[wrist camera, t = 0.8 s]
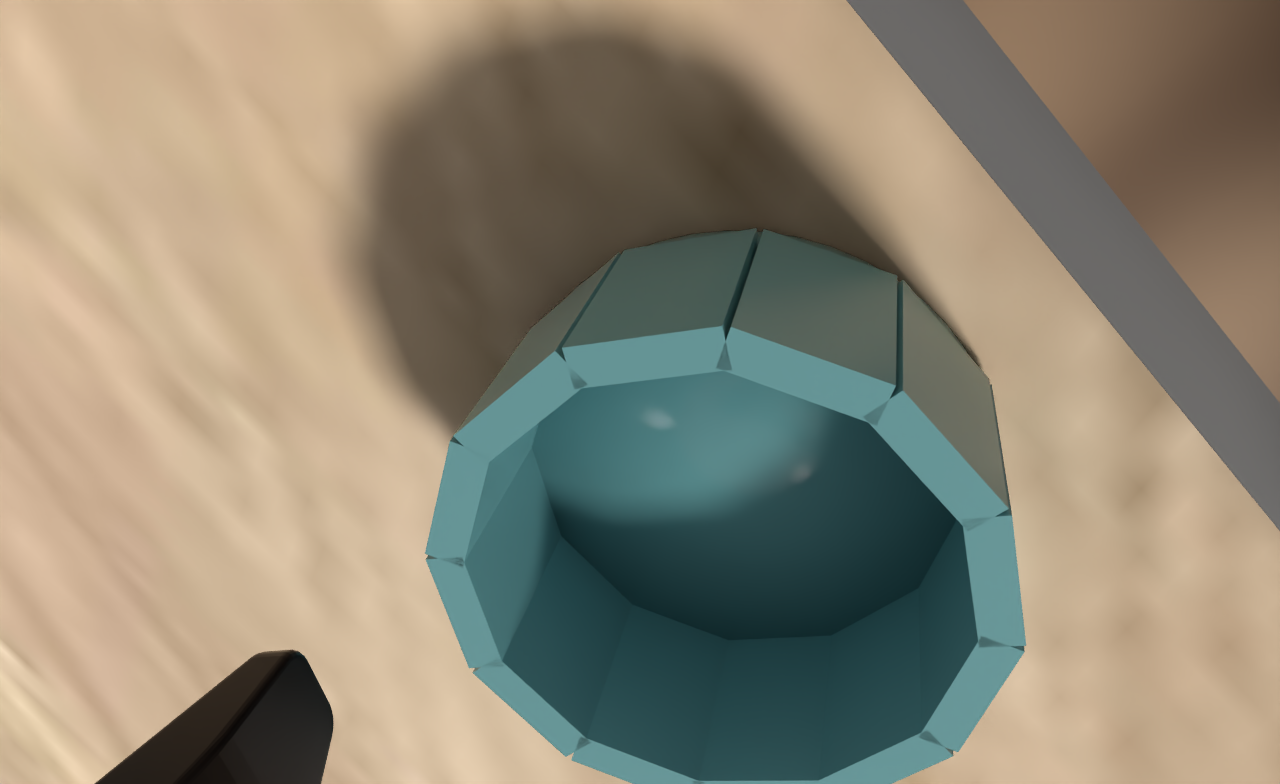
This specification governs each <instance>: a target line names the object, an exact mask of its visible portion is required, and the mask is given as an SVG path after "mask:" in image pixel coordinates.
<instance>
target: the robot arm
mask: <svg viewBox="0 0 1280 784" xmlns="http://www.w3.org/2000/svg"><path fill="white" fill-rule="evenodd" d="M332 733H333V714H332V710H331V706H330V704H329V702H328V700H327V698H326V696H325V694H324V692H323V690H322V688H321V686H320V684H319V682H318V680H317V678H316V677H315V675H314V673H313V671H312V669H311V667H310V665H309V663H308V661H307V659H306V658H305V656H304V655H302V654H301V653H300V652H298V651H295V650H282V651H268V652H262V653H258V654H256V655H254V656H253V657H251V658H250V659H249V660H248V661H246V662H245V663H244V664H243V665H241V666H240V667H239V668H238V669H236V670H235V671H234V672H233V673H231V674H230V675H229V676H228V677H226V678H225V679H224V680H223V681H221V682H220V683H219V684H218V685H217V686H215V687H214V688H213V689H212V690H210V691H209V692H208V693H207V694H205V695H204V696H203V697H202V698H200V699H199V700H198V701H197V702H195V703H194V704H193V705H192V706H190V707H189V708H188V709H187V710H185V711H184V712H183V713H182V714H181V715H179V716H178V717H177V718H176V719H174V720H173V721H172V722H171V723H169V724H168V725H167V726H166V727H164V728H163V729H162V730H161V731H159V732H158V733H157V734H156V735H154V736H153V737H152V738H151V739H149V740H148V741H147V742H146V743H144V744H143V745H142V746H141V747H140V748H138V749H137V750H136V751H135V752H133V753H132V754H131V755H130V756H128V757H127V758H126V759H125V760H123V761H122V762H121V763H120V764H118V765H117V766H116V767H115V768H113V769H112V770H111V771H110V772H108V773H107V774H106V775H105V776H104V777H102V778H101V779H100V780H99V781H97V782H96V783H95V784H321V781H322V777H323V773H324V768H325V764H326V760H327V755H328V751H329V747H330V742H331V738H332Z"/></svg>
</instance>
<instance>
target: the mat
mask: <svg viewBox="0 0 1280 784" xmlns="http://www.w3.org/2000/svg"><path fill="white" fill-rule="evenodd" d="M847 1H848V3H849V4H850V5H851V6H852V8H853V9H854V10H855V11H856V13H857V14H858V15H859V16H860V17H861V19H862V20H863V21H864V22H865V24H866V25H867V26H868V27H869V28H870V30H871V31H872V32H873V33H874V35H875V36H876V37H877V38H878V39H879V41H880V42H881V43H882V44H883V46H884V47H885V48H886V49H887V50H888V52H889V53H890V54H891V55H892V57H893V58H894V59H895V60H896V61H897V63H898V64H899V65H900V66H901V68H902V69H903V70H904V71H905V73H906V74H907V75H908V76H909V77H910V79H911V80H912V81H913V82H914V84H915V85H916V86H917V87H918V88H919V90H920V91H921V92H922V93H923V95H924V96H925V97H926V98H927V99H928V101H929V102H930V103H931V104H932V106H933V107H934V108H935V109H936V110H937V112H938V113H939V114H940V115H941V117H942V118H943V119H944V120H945V121H946V123H947V124H948V125H949V126H950V128H951V129H952V130H953V131H954V132H955V134H956V135H957V136H958V137H959V139H960V140H961V141H962V142H963V144H964V145H965V146H966V147H967V148H968V150H969V151H970V152H971V153H972V155H973V156H974V157H975V158H976V159H977V161H978V162H979V163H980V164H981V166H982V167H983V168H984V169H985V170H986V172H987V173H988V174H989V175H990V177H991V178H992V179H993V180H994V181H995V183H996V184H997V185H998V186H999V188H1000V189H1001V190H1002V191H1003V192H1004V194H1005V195H1006V196H1007V197H1008V199H1009V200H1010V201H1011V202H1012V204H1013V205H1014V206H1015V207H1016V208H1017V210H1018V211H1019V212H1020V213H1021V215H1022V216H1023V217H1024V218H1025V219H1026V221H1027V222H1028V223H1029V224H1030V226H1031V227H1032V228H1033V229H1034V230H1035V232H1036V233H1037V234H1038V235H1039V237H1040V238H1041V239H1042V240H1043V241H1044V243H1045V244H1046V245H1047V246H1048V248H1049V249H1050V250H1051V251H1052V252H1053V254H1054V255H1055V256H1056V257H1057V259H1058V260H1059V261H1060V262H1061V264H1062V265H1063V266H1064V267H1065V268H1066V270H1067V271H1068V272H1069V273H1070V275H1071V276H1072V277H1073V278H1074V279H1075V281H1076V282H1077V283H1078V284H1079V286H1080V287H1081V288H1082V289H1083V290H1084V292H1085V293H1086V294H1087V295H1088V297H1089V298H1090V299H1091V300H1092V301H1093V303H1094V304H1095V305H1096V306H1097V308H1098V309H1099V310H1100V311H1101V312H1102V314H1103V315H1104V316H1105V317H1106V319H1107V320H1108V321H1109V322H1110V324H1111V325H1112V326H1113V327H1114V328H1115V330H1116V331H1117V332H1118V333H1119V335H1120V336H1121V337H1122V338H1123V339H1124V341H1125V342H1126V343H1127V344H1128V346H1129V347H1130V348H1131V349H1132V350H1133V352H1134V353H1135V354H1136V355H1137V357H1138V358H1139V359H1140V360H1141V361H1142V363H1143V364H1144V365H1145V366H1146V368H1147V369H1148V370H1149V371H1150V372H1151V374H1152V375H1153V376H1154V377H1155V379H1156V380H1157V381H1158V382H1159V383H1160V385H1161V386H1162V387H1163V388H1164V390H1165V391H1166V392H1167V393H1168V395H1169V396H1170V397H1171V398H1172V399H1173V401H1174V402H1175V403H1176V404H1177V406H1178V407H1179V408H1180V409H1181V410H1182V412H1183V413H1184V414H1185V415H1186V417H1187V418H1188V419H1189V420H1190V421H1191V423H1192V424H1193V425H1194V426H1195V428H1196V429H1197V430H1198V431H1199V432H1200V434H1201V435H1202V436H1203V437H1204V439H1205V440H1206V441H1207V442H1208V443H1209V445H1210V446H1211V447H1212V448H1213V450H1214V451H1215V452H1216V453H1217V455H1218V456H1219V457H1220V458H1221V459H1222V461H1223V462H1224V463H1225V464H1226V466H1227V467H1228V468H1229V469H1230V470H1231V472H1232V473H1233V474H1234V475H1235V477H1236V478H1237V479H1238V480H1239V481H1240V483H1241V484H1242V485H1243V486H1244V488H1245V489H1246V490H1247V491H1248V492H1249V494H1250V495H1251V496H1252V497H1253V499H1254V500H1255V501H1256V502H1257V503H1258V505H1259V506H1260V507H1261V508H1262V510H1263V511H1264V512H1265V513H1266V515H1267V516H1268V517H1269V518H1270V519H1271V521H1272V522H1273V523H1274V524H1275V526H1276V527H1277V528H1278V529H1279V530H1280V403H1279V401H1278V400H1277V399H1276V398H1275V396H1274V395H1273V394H1272V392H1271V391H1270V390H1269V389H1268V387H1267V386H1266V385H1265V384H1264V382H1263V381H1262V380H1261V378H1260V377H1259V376H1258V375H1257V373H1256V372H1255V371H1254V370H1253V368H1252V367H1251V366H1250V364H1249V363H1248V362H1247V361H1246V359H1245V358H1244V357H1243V356H1242V354H1241V353H1240V352H1239V350H1238V349H1237V348H1236V347H1235V345H1234V344H1233V343H1232V342H1231V340H1230V339H1229V338H1228V336H1227V335H1226V334H1225V333H1224V331H1223V330H1222V329H1221V328H1220V326H1219V325H1218V324H1217V322H1216V321H1215V320H1214V319H1213V317H1212V316H1211V315H1210V314H1209V312H1208V311H1207V310H1206V309H1205V307H1204V306H1203V305H1202V303H1201V302H1200V301H1199V300H1198V298H1197V297H1196V296H1195V295H1194V293H1193V292H1192V291H1191V289H1190V288H1189V287H1188V286H1187V284H1186V283H1185V282H1184V281H1183V279H1182V278H1181V277H1180V275H1179V274H1178V273H1177V272H1176V270H1175V269H1174V268H1173V267H1172V265H1171V264H1170V263H1169V261H1168V260H1167V259H1166V258H1165V256H1164V255H1163V254H1162V253H1161V251H1160V250H1159V249H1158V247H1157V246H1156V245H1155V244H1154V242H1153V241H1152V240H1151V239H1150V237H1149V236H1148V235H1147V233H1146V232H1145V231H1144V230H1143V228H1142V227H1141V226H1140V225H1139V223H1138V222H1137V221H1136V219H1135V218H1134V217H1133V216H1132V214H1131V213H1130V212H1129V211H1128V209H1127V208H1126V207H1125V205H1124V204H1123V203H1122V202H1121V200H1120V199H1119V198H1118V197H1117V195H1116V194H1115V193H1114V191H1113V190H1112V189H1111V188H1110V186H1109V185H1108V184H1107V183H1106V181H1105V180H1104V179H1103V178H1102V176H1101V175H1100V174H1099V172H1098V171H1097V170H1096V169H1095V167H1094V166H1093V165H1092V164H1091V162H1090V161H1089V160H1088V158H1087V157H1086V156H1085V155H1084V153H1083V152H1082V151H1081V150H1080V148H1079V147H1078V146H1077V144H1076V143H1075V142H1074V141H1073V139H1072V138H1071V137H1070V136H1069V134H1068V133H1067V132H1066V130H1065V129H1064V128H1063V127H1062V125H1061V124H1060V123H1059V122H1058V120H1057V119H1056V118H1055V116H1054V115H1053V114H1052V113H1051V111H1050V110H1049V109H1048V108H1047V106H1046V105H1045V104H1044V102H1043V101H1042V100H1041V99H1040V97H1039V96H1038V95H1037V94H1036V92H1035V91H1034V90H1033V88H1032V87H1031V86H1030V85H1029V83H1028V82H1027V81H1026V80H1025V78H1024V77H1023V76H1022V74H1021V73H1020V72H1019V71H1018V69H1017V68H1016V67H1015V66H1014V64H1013V63H1012V62H1011V60H1010V59H1009V58H1008V57H1007V55H1006V54H1005V53H1004V52H1003V50H1002V49H1001V48H1000V47H999V45H998V44H997V43H996V41H995V40H994V39H993V38H992V36H991V35H990V34H989V33H988V31H987V30H986V29H985V27H984V26H983V25H982V24H981V22H980V21H979V20H978V19H977V17H976V16H975V15H974V13H973V12H972V11H971V10H970V8H969V7H968V6H967V5H966V3H965V2H964V1H963V0H847Z"/></svg>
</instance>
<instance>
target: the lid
mask: <svg viewBox="0 0 1280 784" xmlns="http://www.w3.org/2000/svg"><path fill="white" fill-rule="evenodd" d="M963 1H964V2H965V3H966V5H967V6H968V7H969V8H970V10H971V11H972V12H973V13H974V15H975V16H976V17H977V19H978V20H979V21H980V22H981V24H982V25H983V26H984V27H985V29H986V30H987V31H988V33H989V34H990V35H991V36H992V38H993V39H994V40H995V41H996V43H997V44H998V45H999V47H1000V48H1001V49H1002V50H1003V52H1004V53H1005V54H1006V55H1007V57H1008V58H1009V59H1010V60H1011V62H1012V63H1013V64H1014V66H1015V67H1016V68H1017V69H1018V71H1019V72H1020V73H1021V74H1022V76H1023V77H1024V78H1025V80H1026V81H1027V82H1028V83H1029V85H1030V86H1031V87H1032V88H1033V90H1034V91H1035V92H1036V94H1037V95H1038V96H1039V97H1040V99H1041V100H1042V101H1043V102H1044V104H1045V105H1046V106H1047V108H1048V109H1049V110H1050V111H1051V113H1052V114H1053V115H1054V116H1055V118H1056V119H1057V120H1058V122H1059V123H1060V124H1061V125H1062V127H1063V128H1064V129H1065V130H1066V132H1067V133H1068V134H1069V136H1070V137H1071V138H1072V139H1073V141H1074V142H1075V143H1076V144H1077V146H1078V147H1079V148H1080V150H1081V151H1082V152H1083V153H1084V155H1085V156H1086V157H1087V158H1088V160H1089V161H1090V162H1091V164H1092V165H1093V166H1094V167H1095V169H1096V170H1097V171H1098V172H1099V174H1100V175H1101V176H1102V178H1103V179H1104V180H1105V181H1106V183H1107V184H1108V185H1109V186H1110V188H1111V189H1112V190H1113V191H1114V193H1115V194H1116V195H1117V197H1118V198H1119V199H1120V200H1121V202H1122V203H1123V204H1124V205H1125V207H1126V208H1127V209H1128V211H1129V212H1130V213H1131V214H1132V216H1133V217H1134V218H1135V219H1136V221H1137V222H1138V223H1139V225H1140V226H1141V227H1142V228H1143V230H1144V231H1145V232H1146V233H1147V235H1148V236H1149V237H1150V239H1151V240H1152V241H1153V242H1154V244H1155V245H1156V246H1157V247H1158V249H1159V250H1160V251H1161V253H1162V254H1163V255H1164V256H1165V258H1166V259H1167V260H1168V261H1169V263H1170V264H1171V265H1172V267H1173V268H1174V269H1175V270H1176V272H1177V273H1178V274H1179V275H1180V277H1181V278H1182V279H1183V281H1184V282H1185V283H1186V284H1187V286H1188V287H1189V288H1190V289H1191V291H1192V292H1193V293H1194V295H1195V296H1196V297H1197V298H1198V300H1199V301H1200V302H1201V303H1202V305H1203V306H1204V307H1205V309H1206V310H1207V311H1208V312H1209V314H1210V315H1211V316H1212V317H1213V319H1214V320H1215V321H1216V322H1217V324H1218V325H1219V326H1220V328H1221V329H1222V330H1223V331H1224V333H1225V334H1226V335H1227V336H1228V338H1229V339H1230V340H1231V342H1232V343H1233V344H1234V345H1235V347H1236V348H1237V349H1238V350H1239V352H1240V353H1241V354H1242V356H1243V357H1244V358H1245V359H1246V361H1247V362H1248V363H1249V364H1250V366H1251V367H1252V368H1253V370H1254V371H1255V372H1256V373H1257V375H1258V376H1259V377H1260V378H1261V380H1262V381H1263V382H1264V384H1265V385H1266V386H1267V387H1268V389H1269V390H1270V391H1271V392H1272V394H1273V395H1274V396H1275V398H1276V399H1277V400H1278V401H1279V403H1280V0H963Z"/></svg>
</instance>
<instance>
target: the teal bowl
mask: <svg viewBox="0 0 1280 784" xmlns="http://www.w3.org/2000/svg"><path fill="white" fill-rule="evenodd" d="M425 554H427V555H428V557H427V558H426V562H427V564H428V567H429V569H430V572H431V574H432V577H433V579H434V582H435V584H436V587H437V589H438V592H439V594H440V597H441V599H442V602H443V604H444V607H445V609H446V612H447V614H448V617H449V619H450V621H451V624H452V626H453V629H454V631H455V634H456V636H457V639H458V641H459V644H460V646H461V649H462V651H463V654H464V656H465V659H466V661H467V664H468V666H469V668H475V669H474V671H473V674H474V675H476V676H477V677H478V678H479V679H480V680H481V681H482V682H483V683H484V684H486V685H487V686H488V687H489V688H490V689H491V690H492V691H493V692H494V693H496V694H497V695H498V696H499V697H500V698H501V699H502V700H503V701H504V702H506V703H507V704H508V705H509V706H510V707H511V708H512V709H513V710H514V711H516V712H517V713H518V714H519V715H520V716H521V717H522V718H523V719H524V720H526V721H527V722H528V723H529V724H530V725H531V726H532V727H533V728H534V729H535V730H537V731H538V732H539V733H540V734H541V735H542V736H543V737H544V738H545V739H547V740H548V741H549V742H550V743H551V744H552V745H553V746H554V747H555V748H557V749H558V750H559V751H560V752H561V753H562V754H563V755H564V756H565V757H566V756H568V755H570V754H572V753H573V752H574V754H573V757H572V761H575V762H578V763H580V764H583V765H585V766H588V767H591V768H593V769H596V770H599V771H601V772H604V773H606V774H609V775H612V776H614V777H617V778H620V779H622V780H625V781H628V782H630V783H633V784H892V783H894V782H896V781H899V780H901V779H903V778H905V777H907V776H910V775H912V774H914V773H916V772H919V771H921V770H923V769H925V768H928V767H930V766H932V765H934V764H937V763H939V762H941V761H943V760H946V759H948V758H950V757H952V756H953V751H956V752H959V750H960V749H961V747H962V746H963V744H964V743H965V741H966V740H967V738H968V737H969V735H970V734H971V732H972V730H973V729H974V727H975V726H976V724H977V723H978V721H979V720H980V718H981V717H982V715H983V714H984V712H985V711H986V709H987V708H988V706H989V705H990V703H991V702H992V700H993V699H994V697H995V696H996V694H997V693H998V691H999V690H1000V688H1001V687H1002V685H1003V684H1004V682H1005V681H1006V679H1007V678H1008V676H1009V674H1010V673H1011V671H1012V670H1013V668H1014V667H1015V665H1016V664H1017V662H1018V661H1019V659H1020V658H1021V656H1022V655H1023V653H1024V646H1026V640H1025V631H1024V622H1023V613H1022V604H1021V594H1020V585H1019V576H1018V567H1017V557H1016V548H1015V539H1014V530H1013V521H1012V513H1011V506H1010V500H1009V493H1008V487H1007V480H1006V474H1005V468H1004V461H1003V455H1002V448H1001V442H1000V435H999V429H998V423H997V416H996V410H995V403H994V397H993V390H992V384H991V385H990V382H989V378H988V377H987V376H986V375H985V374H984V372H983V371H982V370H981V369H980V368H979V367H978V365H977V364H976V363H975V362H974V361H973V360H972V358H971V357H970V356H969V355H968V353H967V351H966V349H965V348H964V347H963V345H962V344H961V343H960V341H959V340H958V339H957V337H956V336H955V335H954V333H953V332H952V331H951V329H950V328H949V327H948V325H947V324H946V323H945V322H944V321H943V320H942V319H941V318H940V317H939V316H938V315H937V314H936V313H935V312H934V311H933V310H932V309H931V308H930V307H929V306H928V305H927V304H926V303H925V302H924V301H923V300H922V299H921V298H920V297H918V296H917V295H916V294H915V293H914V291H913V290H912V289H911V288H910V287H909V286H908V285H907V283H906V282H905V281H904V280H902V281H900V282H899V281H897V275H894V274H892V273H889V272H886V271H883V270H880V269H878V268H876V267H874V266H873V265H871V264H869V263H867V262H866V261H864V260H861V259H859V258H857V257H854V256H852V255H850V254H847V253H845V252H842V251H840V250H838V249H835V248H833V247H830V246H827V245H823V244H820V243H816V242H813V241H809V240H806V239H802V238H798V237H794V236H787V235H780V234H777V233H775V232H772V231H769V230H766V229H763V232H758V231H757V228H754V229H748V230H742V231H718V232H708V233H697V234H690V235H686V236H681V237H677V238H673V239H668V240H664V241H660V242H657V243H654V244H652V245H649V246H644V247H638V248H632V249H626V250H624V251H623V253H622V254H620V253H617V254H616V255H615V256H614V257H613V258H612V259H610V260H609V261H608V262H607V263H606V264H605V265H604V266H602V267H601V268H600V269H599V270H598V271H597V272H595V273H594V274H593V275H591V276H590V277H589V278H587V279H586V280H585V281H583V282H582V283H581V284H579V285H578V286H577V287H576V288H575V289H574V290H573V291H572V292H571V293H570V294H569V295H568V296H567V297H566V298H565V299H564V300H563V301H562V302H561V303H560V304H558V305H557V306H556V307H555V308H554V309H553V310H551V311H550V312H549V313H548V314H547V315H546V316H545V317H543V318H542V319H541V320H540V321H539V322H538V323H536V324H535V325H534V326H533V327H532V328H531V329H530V330H529V332H528V333H527V334H526V336H525V337H524V339H523V340H522V341H521V343H520V344H519V345H518V347H517V348H516V350H515V351H514V352H513V354H512V355H511V357H510V358H509V359H508V361H507V362H506V363H505V365H504V366H503V368H502V369H501V370H500V372H499V373H498V375H497V376H496V377H495V379H494V380H493V381H492V383H491V384H490V386H489V387H488V388H487V390H486V391H485V393H484V394H483V395H482V397H481V398H480V399H479V401H478V402H477V404H476V405H475V406H474V408H473V409H472V411H471V412H470V413H469V415H468V416H467V417H466V419H465V420H464V422H463V423H462V424H461V426H460V427H459V429H458V430H457V431H456V433H455V434H454V435H453V438H452V439H451V440H450V443H449V448H448V452H447V457H446V461H445V466H444V470H443V475H442V479H441V484H440V488H439V493H438V498H437V502H436V507H435V511H434V516H433V520H432V525H431V529H430V534H429V538H428V543H427V547H426V552H425Z"/></svg>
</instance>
